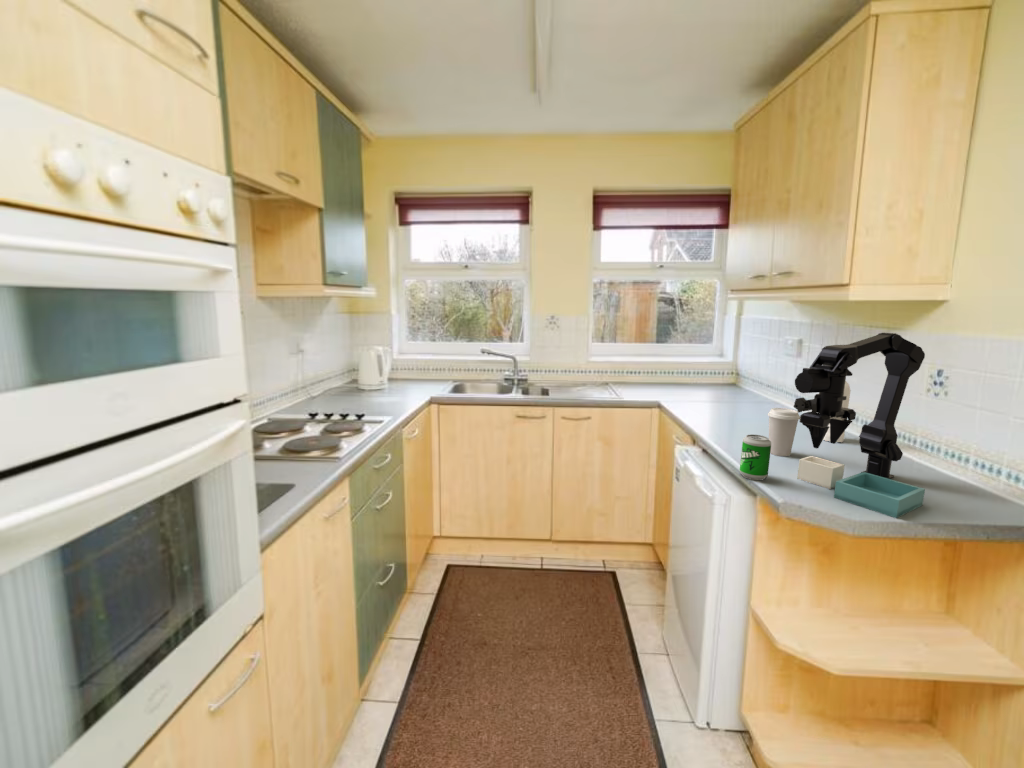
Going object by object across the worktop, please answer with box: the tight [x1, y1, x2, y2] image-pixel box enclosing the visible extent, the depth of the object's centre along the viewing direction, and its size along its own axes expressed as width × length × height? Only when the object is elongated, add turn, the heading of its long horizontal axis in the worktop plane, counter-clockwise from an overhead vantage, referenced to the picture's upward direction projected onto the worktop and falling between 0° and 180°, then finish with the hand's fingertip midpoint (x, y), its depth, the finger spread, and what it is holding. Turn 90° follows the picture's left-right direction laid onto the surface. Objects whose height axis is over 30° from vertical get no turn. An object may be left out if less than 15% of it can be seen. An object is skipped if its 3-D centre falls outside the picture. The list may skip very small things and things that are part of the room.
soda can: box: [739, 434, 771, 481], centre depth 143 cm, size 8×8×12 cm
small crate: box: [797, 455, 845, 490], centre depth 140 cm, size 6×9×6 cm
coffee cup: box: [767, 407, 800, 457], centre depth 165 cm, size 10×10×15 cm
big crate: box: [833, 471, 926, 519], centre depth 127 cm, size 15×14×4 cm
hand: (824, 445), depth 139 cm, fingers open, 9 cm apart
